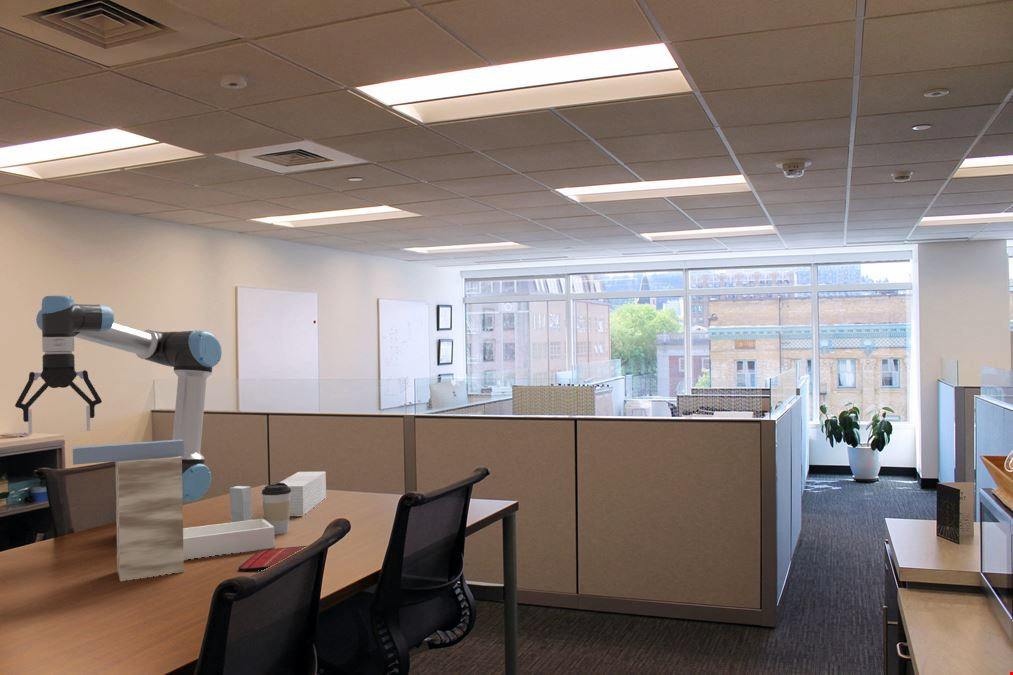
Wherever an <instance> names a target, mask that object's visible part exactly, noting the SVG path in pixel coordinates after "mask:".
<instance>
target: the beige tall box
mask: <svg viewBox="0 0 1013 675" xmlns="http://www.w3.org/2000/svg"><path fill="white" fill-rule="evenodd" d="M115 500H116V501H115V503H116V504H115V505H116V506H115V508H116V509H115V510H116V511H115V512H116V516H115V517H116V519H115V520H116V566H117V568H116V570H117V575H118V578H119V581H120V582H125V581H126V580H127V581H133V579H134V580H139V579H140V578H141V579H148V578H154V577H159V575H161V576H166V575H165V574H168V575H173V574H172V573H175V574H179V573H180V572H181V573H184V572H185V570H184V569H185V567H184V566H185V565H184V561H185V560H184V557H183V528H184V515H183V514H184V512H183V508H184V506H183V503H184V502H183V498H182V457H181V456H175V457H162V458H150V459H137V460H125V461H115ZM181 573H180V574H181ZM153 576H154V577H153ZM147 577H148V578H147ZM141 579H140V580H141Z"/></svg>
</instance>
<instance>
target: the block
mask: <svg viewBox="0 0 1013 675" xmlns="http://www.w3.org/2000/svg"><path fill="white" fill-rule="evenodd" d="M175 456H184V441H183V440H182V439H179V440H173V439H170V440H169V439H167V440H155V441H142V442H141V441H140V442H137V441H136V442H125V443H109V444H100V445H99V444H96V445H83V446H72V464H73V465H74V466H75V465H86V464H98V463H99V464H100V463H112V462H116V461H125V460H137V459H150V458H162V457H175Z"/></svg>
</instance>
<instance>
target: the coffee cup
mask: <svg viewBox="0 0 1013 675" xmlns="http://www.w3.org/2000/svg"><path fill="white" fill-rule="evenodd" d="M290 492H291V488H289V487H288V486H287V485H286V484H284V483H280V482H277V483H275V484H267V485H265V487H264V488H263V489H262V490H261V496H262V511H263V512H262V513H263V519H265V520H266V521H267V522H268V523H270V524H271V525H272V526H274V535H283V534H285V533H288V532H289V525H290V518H291V517H290V502H291V499H290Z"/></svg>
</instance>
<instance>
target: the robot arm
mask: <svg viewBox="0 0 1013 675" xmlns="http://www.w3.org/2000/svg"><path fill="white" fill-rule="evenodd" d="M41 300H42V301H41V309H40V310H39V311H38V312H37V315H36V319H35V321H36V325H37V327H38V328H39V330H40V331H41V333H42V334H41V336H42V337H41V343H42V344H41V346H42V347H41V348H42V352H43V353H44V354H42V371H41V372H34V371H30V372H29V374H28V381H27V382H26V385H25V387H24V388H23V390H22V392H21V393H20V396H18V399H17V401H16V403H15V404H14V407H15V408H18V409H22V412H23V413H22V415H23V416H22V417H23V418H22V420H23V422H24V423H27V424H28V435H32V434H33V409H31V408H30V407H31V406H32V405H33V404H34V403H35V402H36V401H37V399H38V398H39V397H40V396H41V395H42V394H43V393H44V392H45V391H46V390H47V389H48V388H51V389H58V388H65V389H66V388H68V387H69V386H70V388H72V390H74V391H75V393H77V395H78V396H80V397H81V398H82V400H84V401H85V402H86V403H87V404H88V405H87V406H86V407H85V408H86V409H85V412H86V414H85V415H86V417H85V418H86V431H87V432H90V431H91V419H94V418H95V416H96V414H95V408H96V406H97V405H100V404H101V403H103V402H102V401H103V400H102V398H101V397H100V396H99V394H98V392H97V390H96V388H95V387H94V385H93V384H92V382H91V380H90V379H89V374H88V370H86V369H83V370H81V371H76V369H75V368H76V365H75V354H74V353H73V352H74V351H75V338H77V339H80V340H84V341H88V342H90V343H91V342H92V343H95V344H99V345H102V346H105V347H106V346H107V347H111V348H113V349H116V350H117V349H118V350H121V351H124V352H128V353H132V354H135V355H136V357H137V358H139V359H140V360H141V359H142V360H146V361H149V362H151V363H152V362H153V363H155V364H158V365H162V366H165V367H170V368H173V373H174V374H175V375H176V377H177V385H176V386H177V387H176V397H175V409H174V419H173V427H172V428H173V431H172V440H179V439H182V440H183V441H184V456H181V457H182V498H183V503H184V502H195V501H197V500H200V499H202V497H203V496H204V495H206V493H207V492H208V490H209V489H210V486H211V482H212V473H211V471H210V468H209V467H208V466H207V465H206V464H205V463H206V462H205V461H206V459H205V456H204V455H202V453H201V447H202V439H203V438H202V436H203V435H202V434H203V425H204V424H203V423H204V414H205V400H206V387H207V380H208V378H209V377H210V376H211V375H212V374H213V367H216V365H218V364H219V362H220V361H221V359H222V354H223V353H222V352H223V350H222V346H221V342H220V340H219V339H218V338H217V337H216V335H214V334H213V333H212V332H210V331H207V330H206V331H205V330H188V331H187V330H186V331H183V330H182V331H156V330H155V331H154V330H152V329H144V330H141V329H138V328H134V327H131V326H127V325H125V324H122V323H121V324H120V323H119V322H115V314H114V312H113V310H112V308H111V307H109V305H103V304H102V305H101V304H98V303H97V304H83V303H81V304H80V303H79V304H77V303H75V302H74V298H73V297H72V296H71V295H47V296H44V297H42V299H41ZM77 376H78V377H79V378H80V379H81V380H82V379H83V381H84V383H85V385H86V386H87V388H88V390H89V392H90V393H91V395H92V397H93V398H94V400H92V399H91V398H90V397H89V396H88V395H87V394H86V393H85V392H84V391H83V390H82V389H81V388H80V386H79V387H78V385H77V384H76V383H74V380H75V379H76V377H77ZM39 378H41V379H42V380H43V381H44V383H43V384H42V386H41V387H40V388H39V389H38V390H37V391H36V392H35V393H34V394H33V395H32V396H31V398H29V399H28V401H26V403H23V402H24V400H25V399H26V397H27V395H28V393H29V391H30V389H31V387H32V385H34V384H33V383H34V381H38V379H39Z"/></svg>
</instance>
